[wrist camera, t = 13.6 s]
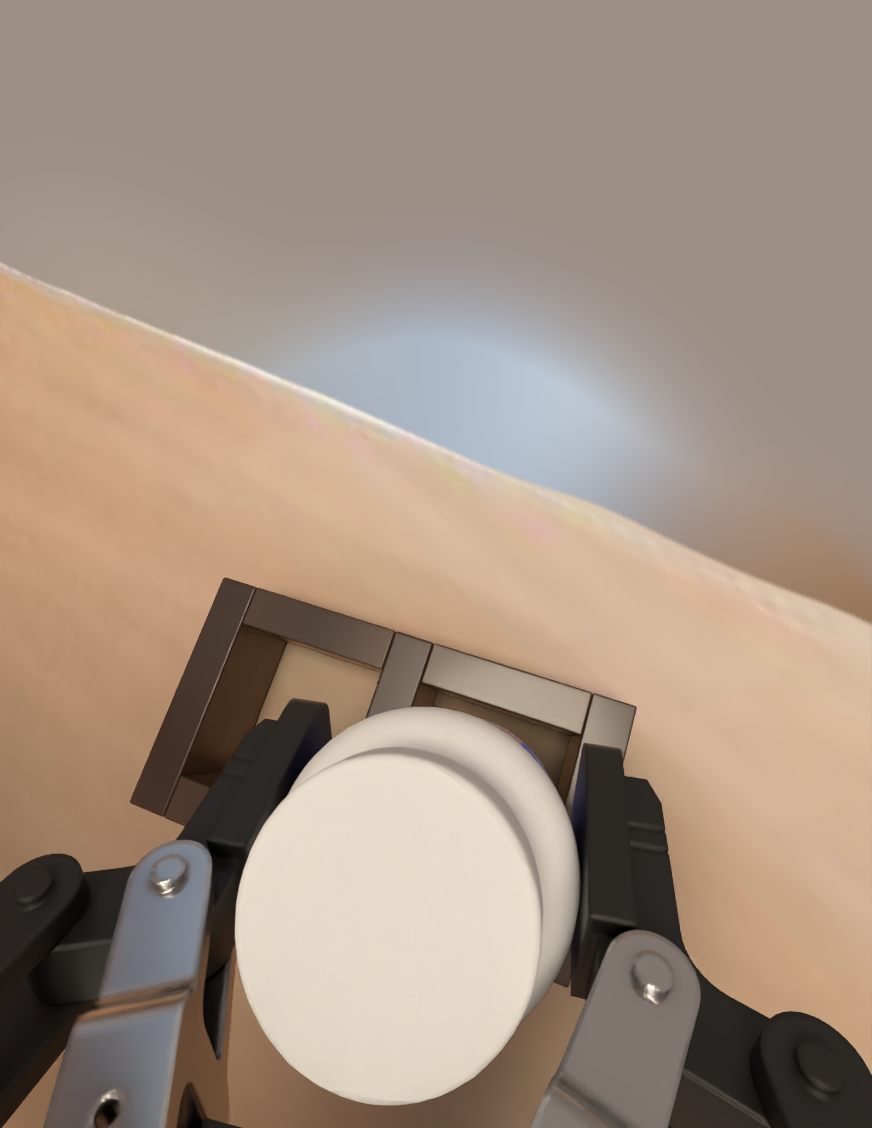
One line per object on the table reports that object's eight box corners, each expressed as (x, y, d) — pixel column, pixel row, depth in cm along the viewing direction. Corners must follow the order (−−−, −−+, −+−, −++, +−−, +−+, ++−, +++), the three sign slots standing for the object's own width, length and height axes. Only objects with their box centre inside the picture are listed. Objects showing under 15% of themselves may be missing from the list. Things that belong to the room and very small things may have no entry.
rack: (195, 791, 28) (127, 803, 23) (270, 601, 30) (223, 576, 25) (559, 939, 24) (568, 989, 19) (616, 711, 26) (637, 706, 22)
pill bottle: (531, 699, 17) (546, 653, 8) (581, 905, 16) (670, 1144, 6) (351, 736, 18) (167, 734, 8) (380, 942, 16) (193, 1216, 7)
